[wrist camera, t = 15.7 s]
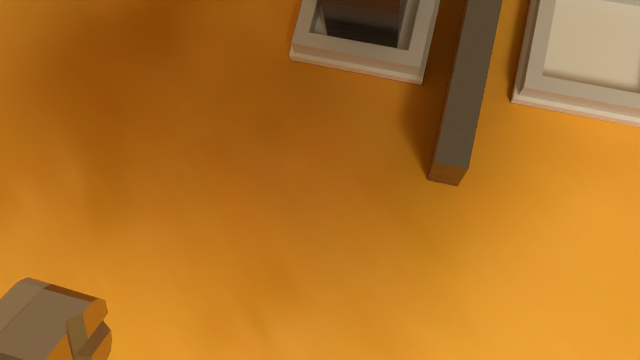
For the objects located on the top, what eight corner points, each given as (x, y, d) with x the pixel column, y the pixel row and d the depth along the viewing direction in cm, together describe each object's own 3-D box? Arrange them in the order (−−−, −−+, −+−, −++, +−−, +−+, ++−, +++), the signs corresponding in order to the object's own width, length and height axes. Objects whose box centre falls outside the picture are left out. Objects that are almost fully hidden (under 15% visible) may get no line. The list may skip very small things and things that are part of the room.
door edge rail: (516, -107, 35) (534, -158, 31) (457, 186, 32) (468, 169, 28) (489, -111, 35) (503, -163, 31) (427, 179, 32) (434, 161, 28)
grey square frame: (675, 0, 33) (691, -17, 31) (656, 130, 31) (673, 120, 30) (534, -22, 34) (543, -41, 32) (510, 102, 32) (518, 90, 31)
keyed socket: (448, -37, 35) (452, -55, 33) (421, 85, 33) (423, 72, 31) (321, -57, 36) (318, -76, 34) (290, 59, 34) (285, 46, 32)
